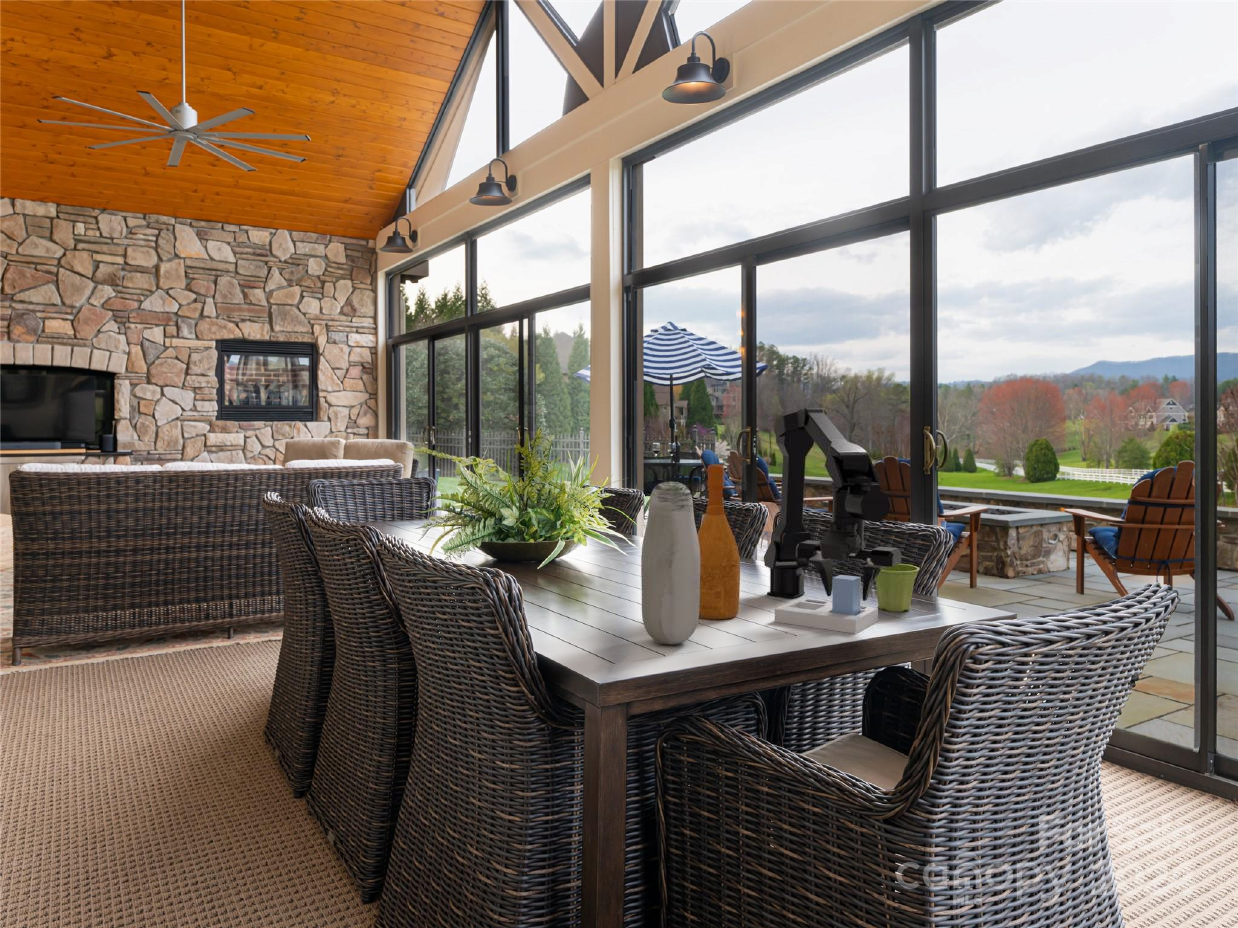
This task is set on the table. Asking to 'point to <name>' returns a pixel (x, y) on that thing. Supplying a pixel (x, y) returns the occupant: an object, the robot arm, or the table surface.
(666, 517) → the grey vase
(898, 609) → the plant pot
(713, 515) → the wine bottle
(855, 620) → the white socket block
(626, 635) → the table surface
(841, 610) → the plug
